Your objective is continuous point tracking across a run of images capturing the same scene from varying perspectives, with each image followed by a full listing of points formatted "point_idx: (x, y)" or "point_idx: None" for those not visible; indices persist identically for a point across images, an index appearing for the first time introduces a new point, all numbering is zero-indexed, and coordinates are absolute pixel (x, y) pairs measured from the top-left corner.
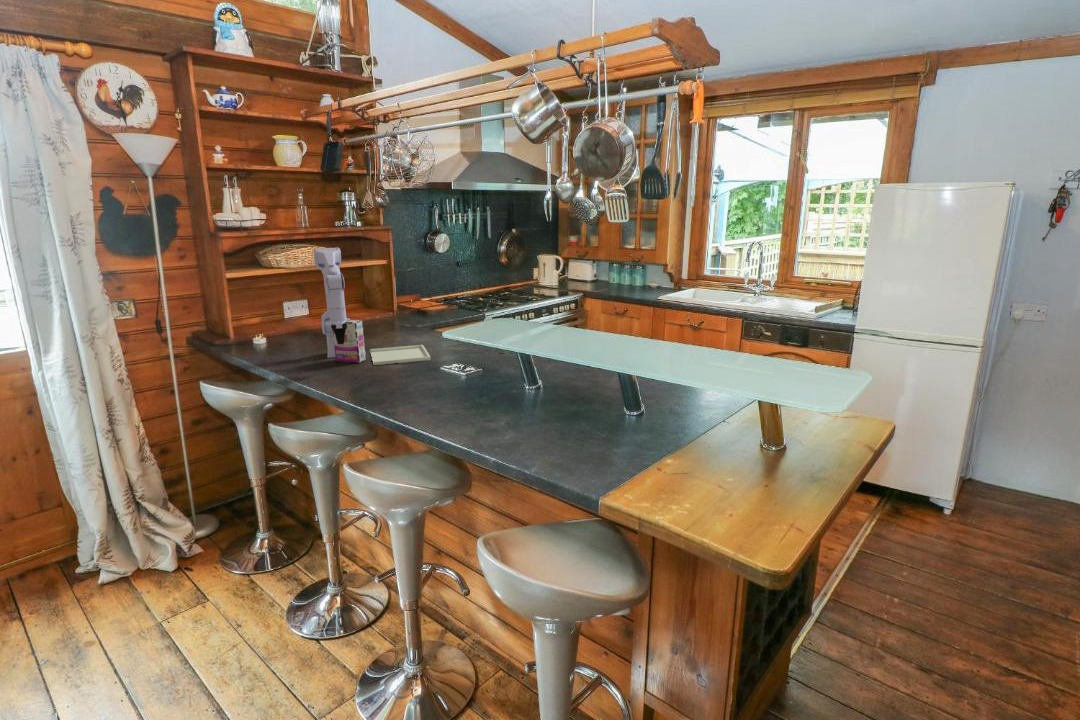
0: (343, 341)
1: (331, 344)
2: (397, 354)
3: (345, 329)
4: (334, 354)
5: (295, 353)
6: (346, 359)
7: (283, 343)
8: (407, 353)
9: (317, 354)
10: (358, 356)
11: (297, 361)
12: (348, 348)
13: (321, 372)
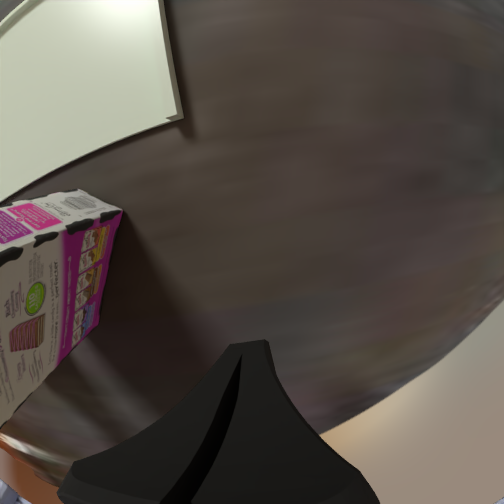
0: (268, 356)
1: None
2: (35, 71)
3: (341, 460)
4: None
5: (50, 419)
6: (100, 283)
7: (7, 421)
8: (35, 40)
9: None
10: (103, 218)
11: (114, 427)
12: (68, 290)
13: None
